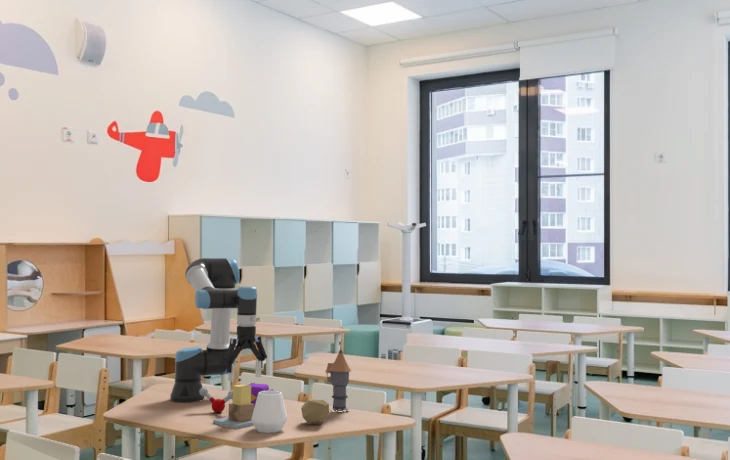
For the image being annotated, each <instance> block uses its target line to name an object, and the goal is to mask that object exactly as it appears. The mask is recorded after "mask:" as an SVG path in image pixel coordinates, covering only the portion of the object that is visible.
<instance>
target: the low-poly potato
mask: <svg viewBox="0 0 730 460" xmlns="http://www.w3.org/2000/svg"><path fill="white" fill-rule="evenodd" d="M300 409H301V415H302V418H303V419H304V420H305V422H306V423H307V424H308V425H321V424H322V423H323V420H324V419H325V417H326V416H327V415H328V414H329V413H330V406H329V403H328V402H326V401H325V400H324V399H311V398H308V399H306V400H305V402H304V404H303V405H302V406H301V407H300Z"/></svg>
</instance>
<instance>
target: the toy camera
mask: <svg viewBox="0 0 730 460" xmlns="http://www.w3.org/2000/svg"><path fill="white" fill-rule="evenodd" d="M248 385H249V386H251V403H252V404H254V407H255V404H256V400H257V396H258V393H259V392H261V391H275V390H274V389H273V388H271V389H270V386H269V384H267V383H256V382H253V381H252V382H251V383H249V384H248Z"/></svg>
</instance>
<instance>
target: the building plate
mask: <svg viewBox="0 0 730 460" xmlns="http://www.w3.org/2000/svg"><path fill="white" fill-rule="evenodd" d="M212 422H213V424H217V425H220V426H223V427H227V428H231V429H235V430H237V429H242V428H247V427H251V426H254V424H253V423H252V420H248V421H243V422H237V421H233V420H229V419H228V416H227V417H221V418H215V419H213V420H212Z"/></svg>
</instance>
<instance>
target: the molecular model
mask: <svg viewBox="0 0 730 460" xmlns="http://www.w3.org/2000/svg"><path fill="white" fill-rule="evenodd" d="M199 393H200V395H201V396H205V398H207V400H208V401H209V402H211V410H212V411H213V412H214V413H217V414H218V413H221V412H223V411H224V410H225V408H226V403H227V402H228V401H230V400H233V389H231V390H229V391H228V393H227V395H226V397H224V398H222V399H221V398H216V399H215V397H213V396H212V395H211V394H210V393H209V389H208V388H207V387H205V386H202V388H201V389H200V391H199Z"/></svg>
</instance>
